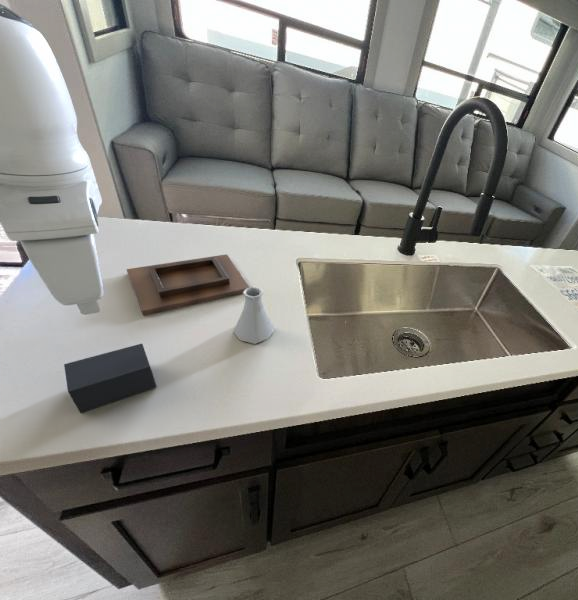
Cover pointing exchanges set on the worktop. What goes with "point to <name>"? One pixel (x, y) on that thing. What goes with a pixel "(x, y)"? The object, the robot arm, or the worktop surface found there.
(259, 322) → the flask
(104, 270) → the worktop surface
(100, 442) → the worktop surface
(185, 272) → the back plate
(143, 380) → the dark gray block
